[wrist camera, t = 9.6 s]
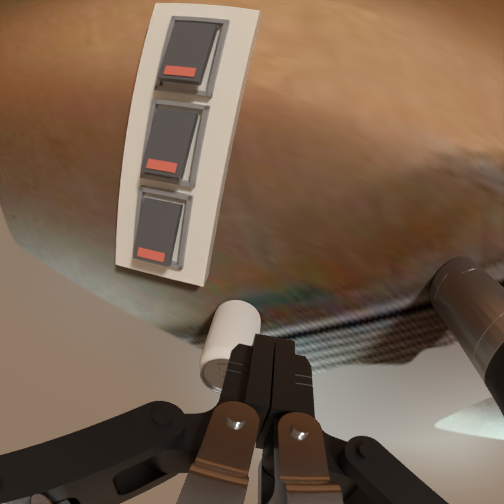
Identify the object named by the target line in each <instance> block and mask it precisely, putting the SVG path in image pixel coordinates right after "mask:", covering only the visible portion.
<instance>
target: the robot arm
mask: <svg viewBox="0 0 504 504" xmlns="http://www.w3.org/2000/svg"><path fill="white" fill-rule="evenodd" d="M430 300H431V303H432V305H433V307H434V308H435V310H436V311H437V312H438V314H439V315H440V317H441V318H442V319H443V321H444V322H445V324H446V325H447V327H448V328H449V330H450V331H451V332H452V334H453V335H454V337H455V338H456V340H457V341H458V343H459V344H460V346H461V347H462V348H463V350H464V352H465V353H466V355H467V356H468V358H469V359H470V361H471V362H472V364H473V365H474V367H475V368H476V370H477V372H478V373H479V375H480V376H481V378H482V380H483V381H484V383H485V384H486V386H487V388H488V390H489V391H490V393H491V394H492V396H493V398H494V400H495V401H496V403H497V405H498V407H499V408H500V410H501V412H502V414H503V416H504V288H503V287H502V286H501V285H500V284H499V283H498V282H497V281H496V280H494V279H493V278H492V277H491V276H490V275H489V274H488V273H487V272H486V271H484V270H483V269H482V268H481V267H480V266H479V265H477V264H476V263H475V262H474V261H472V260H471V259H469V258H464V257H460V258H456V259H453V260H451V261H449V262H448V263H446V264H445V265H444V266H443V267H442V268H441V269H440V270H439V271H438V273H437V274H436V276H435V277H434V279H433V282H432V284H431V288H430ZM255 442H256V448H260V449H263V454H262V459H261V461H260V463H259V468H258V504H448V503H447V502H446V501H445V500H444V499H442V498H441V497H440V496H439V495H438V494H437V493H435V492H434V491H433V490H432V489H431V488H430V487H428V486H427V485H426V484H425V483H424V482H423V481H421V480H420V479H419V478H418V477H417V476H416V475H415V474H413V473H412V472H411V471H410V470H409V469H408V468H406V467H405V466H404V465H403V464H402V463H401V462H400V461H399V460H397V459H396V458H395V457H394V456H393V455H392V454H391V453H390V452H388V450H386V449H385V448H384V447H383V446H382V445H381V444H380V443H379V442H378V441H376V440H375V439H373V438H371V437H367V436H356V437H353V438H352V439H350V440H349V441H348V442H346V441H343V440H341V439H338V438H335V437H332V436H330V435H328V434H327V433H325V432H324V431H323V430H322V428H321V426H320V424H319V423H318V422H317V420H316V419H315V414H314V398H313V387H312V370H311V365H310V363H309V362H308V360H307V358H306V357H305V356H301V355H295V342H294V341H291V340H286V339H281V338H275V339H274V337H271V336H266V335H261V334H256V333H255V336H254V340H253V344H252V346H249V345H245V344H240V343H239V344H238V345H237V346H236V347H235V348H234V349H233V350H232V351H231V354H230V358H229V362H228V366H227V371H226V374H225V379H224V383H223V387H222V391H221V395H220V399H219V402H218V403H217V405H216V406H215V407H214V408H213V409H212V410H209V411H207V412H205V413H199V414H184V413H183V411H182V410H181V409H180V408H178V407H177V406H176V405H174V404H172V403H169V402H164V401H154V402H150V403H147V404H145V405H143V406H140V407H138V408H136V409H133V410H131V411H128V412H126V413H124V414H121V415H119V416H116V417H113V418H111V419H108V420H106V421H103V422H101V423H98V424H95V425H93V426H90V427H88V428H85V429H82V430H79V431H76V432H74V433H71V434H68V435H65V436H62V437H59V438H56V439H53V440H50V441H47V442H44V443H41V444H38V445H34V446H31V447H28V448H24V449H21V450H18V451H14V452H10V453H7V454H3V455H0V504H120V503H122V502H124V501H127V500H129V499H131V498H133V497H135V496H137V495H139V494H141V493H143V492H145V491H147V490H149V489H151V488H153V487H155V486H157V485H159V484H161V483H163V482H165V481H167V480H168V479H170V478H172V477H174V476H176V475H177V474H178V473H188V475H187V477H186V480H185V483H184V486H183V488H182V490H181V493H180V495H179V498H178V501H177V503H176V504H243V503H244V499H245V495H246V490H247V486H248V481H249V477H248V472H249V468H250V464H251V459H252V455H253V450H254V446H255Z"/></svg>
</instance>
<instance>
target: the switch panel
mask: <svg viewBox="0 0 504 504" xmlns="http://www.w3.org/2000/svg"><path fill="white" fill-rule="evenodd" d="M176 22H194V23H207V24H217V28H218V31H217V34H216V37H215V40H214V43H213V47H212V50H211V53H210V56H209V60H208V63H207V66H206V70H205V73H204V77H203V80H202V84H201V85H193V84H184V83H175V82H164V81H160V80H159V79H158V78H157V77H158V74H159V70H160V67H161V64H162V61H163V58H164V55H165V52H166V49H167V46H168V43H169V40H170V37H171V35H172V32H173V29H174V26H175V24H176ZM260 22H261V15H260V11H259V10H252V9H245V8H237V7H228V6H218V5H205V4H185V3H156V4H155V7H154V11H153V14H152V18H151V21H150V25H149V28H148V32H147V36H146V40H145V43H144V47H143V52H142V56H141V60H140V64H139V69H138V73H137V78H136V83H135V88H134V93H133V98H132V103H131V109H130V115H129V121H128V127H127V134H126V141H125V148H124V156H123V164H122V173H121V182H120V193H119V205H118V219H117V237H116V265H119V266H123V267H127V268H130V269H134V270H138V271H142V272H146V273H150V274H154V275H157V276H161V277H165V278H169V279H173V280H178V281H182V282H186V283H190V284H194V285H198V286H202V287H203V286H204V284H205V282H206V280H207V277H208V274H209V268H210V262H211V256H212V250H213V245H214V239H215V233H216V228H217V222H218V217H219V211H220V206H221V201H222V195H223V190H224V185H225V180H226V175H227V170H228V165H229V160H230V155H231V150H232V145H233V140H234V135H235V131H236V126H237V121H238V117H239V112H240V107H241V103H242V98H243V94H244V89H245V85H246V81H247V76H248V72H249V68H250V63H251V59H252V55H253V51H254V46H255V42H256V38H257V34H258V30H259V26H260ZM157 108H162V109H171V110H179V111H186V112H193V113H197V115H198V116H199V117H198V120H197V124H196V128H195V132H194V135H193V139H192V143H191V147H190V151H189V155H188V159H187V163H186V167H185V172H184V176H183V179H178V178H172V177H167V176H161V175H156V174H150V173H144V172H142V171H141V167H142V162H143V158H144V154H145V150H146V146H147V143H148V139H149V135H150V132H151V128H152V124H153V121H154V117H155V114H156V111H157ZM144 197H147V198H152V199H157V200H162V201H167V202H172V203H177V204H182V205H183V209H182V214H181V218H180V223H179V228H178V232H177V237H176V242H175V247H174V252H173V257H172V262H171V266H169V267H166V266H162V265H158V264H154V263H150V262H146V261H142V260H138V259H134V258H132V257H133V251H134V246H135V240H136V235H137V230H138V225H139V220H140V215H141V210H142V206H143V201H144Z"/></svg>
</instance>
